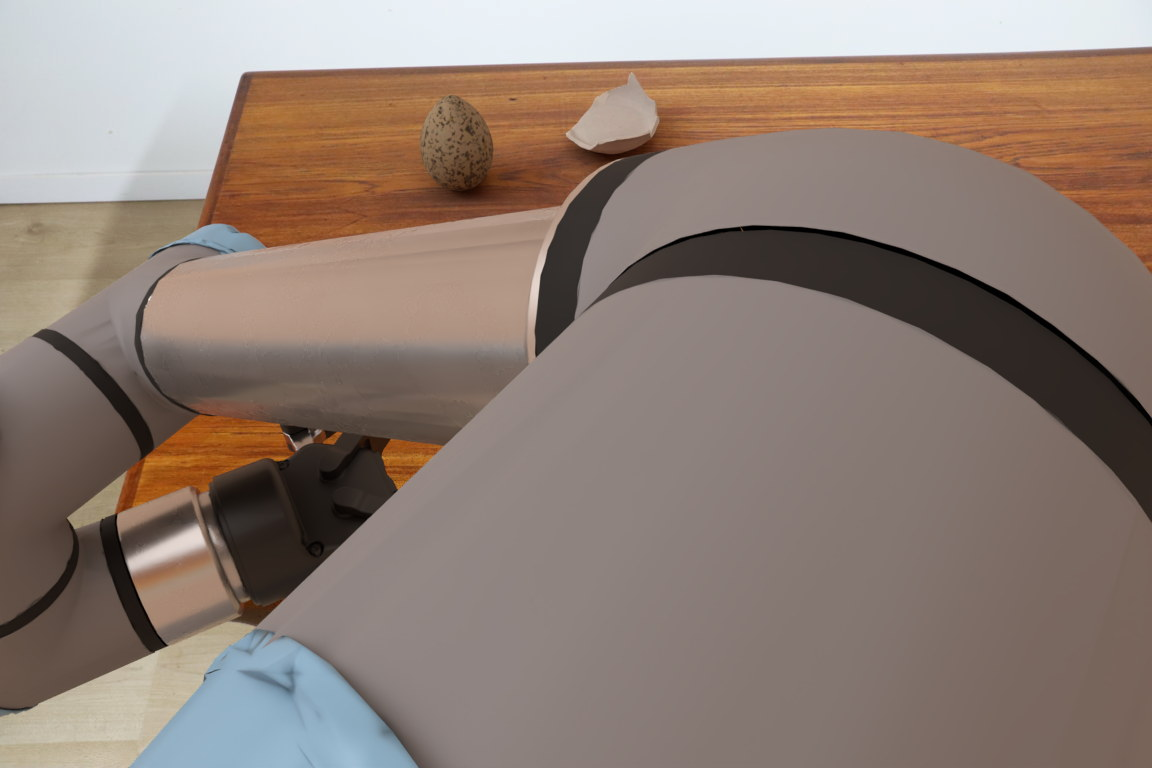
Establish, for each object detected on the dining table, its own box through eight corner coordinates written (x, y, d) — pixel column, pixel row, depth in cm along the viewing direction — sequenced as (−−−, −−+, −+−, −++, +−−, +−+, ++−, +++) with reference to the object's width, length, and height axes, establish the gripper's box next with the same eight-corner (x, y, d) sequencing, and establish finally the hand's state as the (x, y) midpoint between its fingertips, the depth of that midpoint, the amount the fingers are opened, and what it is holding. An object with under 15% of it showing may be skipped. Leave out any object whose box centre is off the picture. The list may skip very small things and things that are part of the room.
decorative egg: (493, 206, 94) (484, 117, 86) (421, 206, 94) (406, 116, 87) (499, 165, 99) (491, 77, 91) (431, 164, 99) (418, 76, 92)
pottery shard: (620, 107, 106) (621, 66, 102) (692, 149, 100) (696, 107, 97) (549, 141, 101) (548, 99, 98) (620, 187, 96) (622, 145, 92)
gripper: (197, 433, 61) (496, 326, 68) (310, 780, 46) (681, 599, 53) (159, 352, 56) (488, 243, 62) (272, 715, 41) (692, 522, 47)
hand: (577, 406), depth 58 cm, fingers open, 13 cm apart
